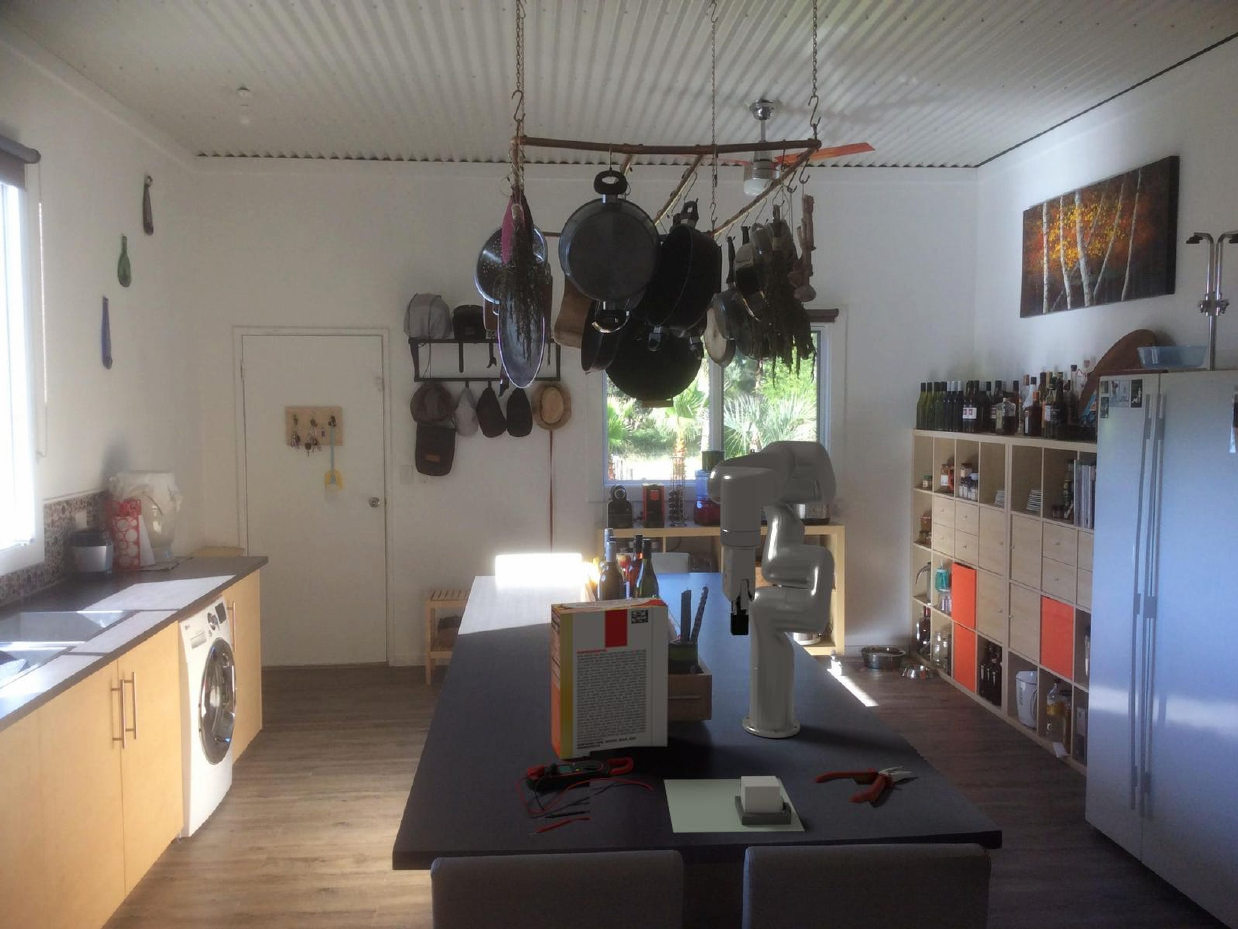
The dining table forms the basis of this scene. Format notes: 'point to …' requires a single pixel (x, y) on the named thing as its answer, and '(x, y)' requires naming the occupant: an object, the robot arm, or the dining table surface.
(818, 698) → the dining table surface
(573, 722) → the cereal box
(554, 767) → the digital clamp meter
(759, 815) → the frame
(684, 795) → the board
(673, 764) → the dining table surface
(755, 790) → the plug
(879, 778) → the pliers
